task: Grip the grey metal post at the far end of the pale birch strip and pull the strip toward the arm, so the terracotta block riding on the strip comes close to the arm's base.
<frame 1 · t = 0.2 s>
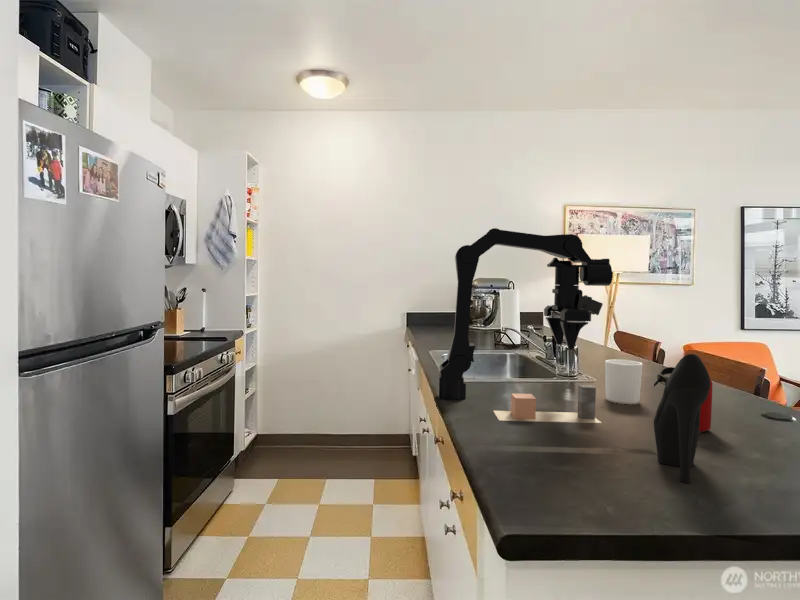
hand: (564, 347, 123), 15 cm above the counter, tool pointing down, fingers open, 9 cm apart
strip: (545, 402, 109), point 4 cm above the counter, slide at 0.0 cm, touching block
high-heeled shoe: (675, 467, 83), on the counter
mug: (619, 400, 129), on the counter
beverage can: (691, 429, 104), on the counter
block: (522, 415, 109), point 1 cm above the counter, touching strip
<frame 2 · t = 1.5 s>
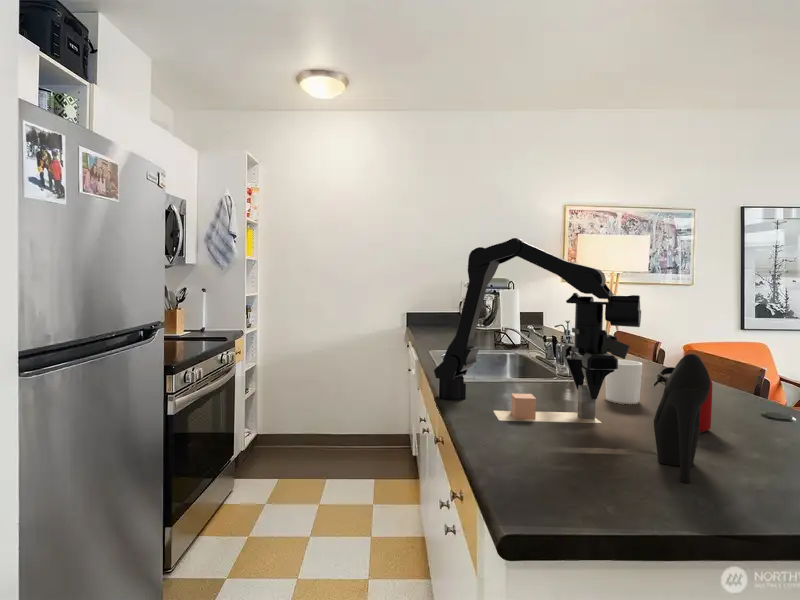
hand: (586, 394, 109), 6 cm above the counter, tool pointing down, fingers open, 9 cm apart
nothing on the counter moved.
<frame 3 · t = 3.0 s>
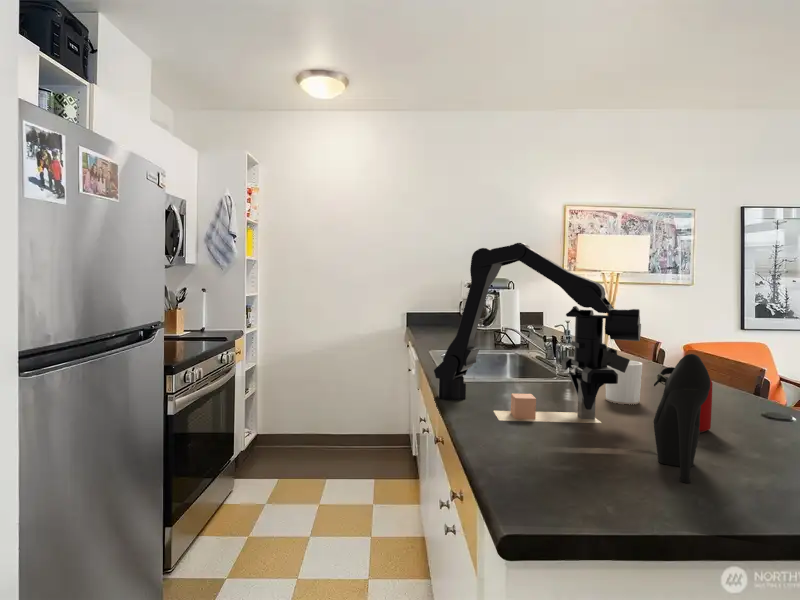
hand: (586, 407, 109), 3 cm above the counter, tool pointing down, fingers closed on strip, 2 cm apart
strip: (545, 402, 109), point 4 cm above the counter, slide at 0.0 cm, touching block, gripper
everything else where it was.
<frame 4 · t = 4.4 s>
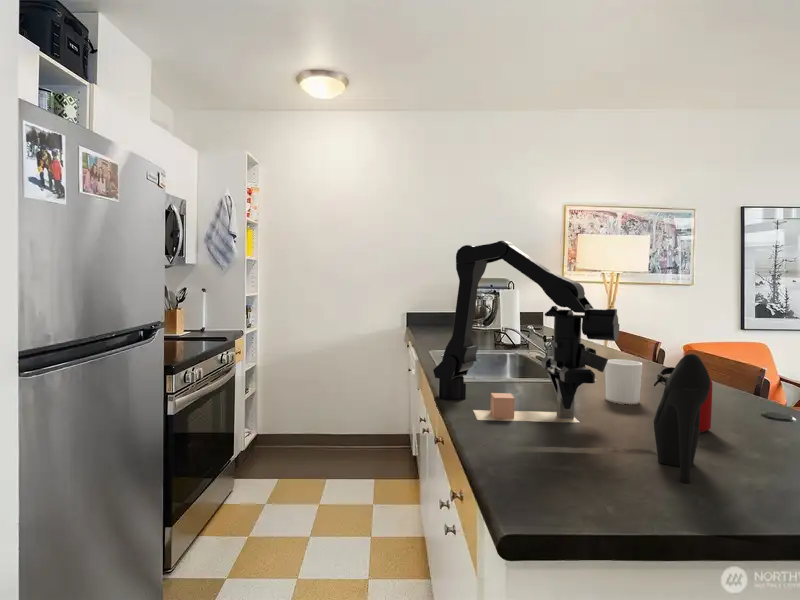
hand: (565, 407, 109), 3 cm above the counter, tool pointing down, fingers closed on strip, 2 cm apart
strip: (524, 402, 109), point 4 cm above the counter, slide at 4.6 cm, touching block, gripper
block: (502, 415, 109), point 1 cm above the counter, touching strip
everything else where it was.
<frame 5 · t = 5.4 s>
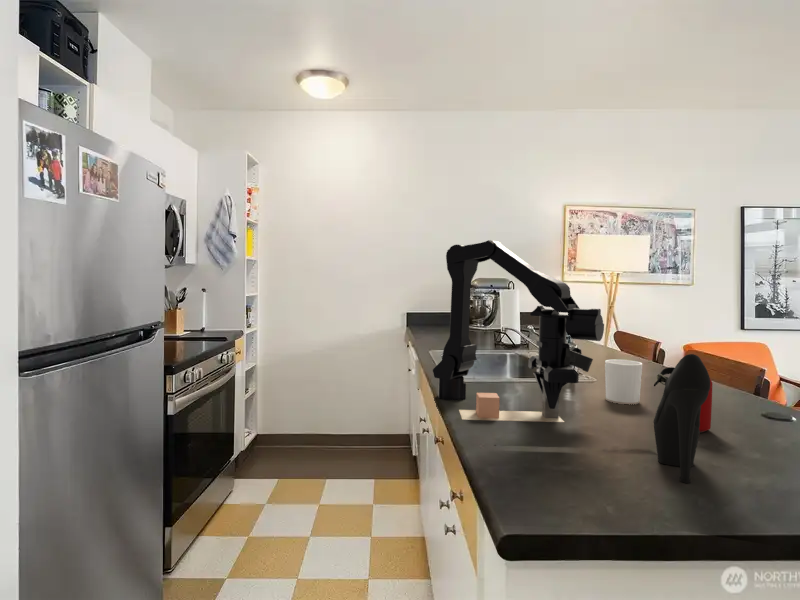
hand: (550, 406, 109), 3 cm above the counter, tool pointing down, fingers closed on strip, 2 cm apart
strip: (510, 401, 109), point 4 cm above the counter, slide at 7.9 cm, touching block, gripper
block: (487, 415, 110), point 1 cm above the counter, touching strip
everything else where it was.
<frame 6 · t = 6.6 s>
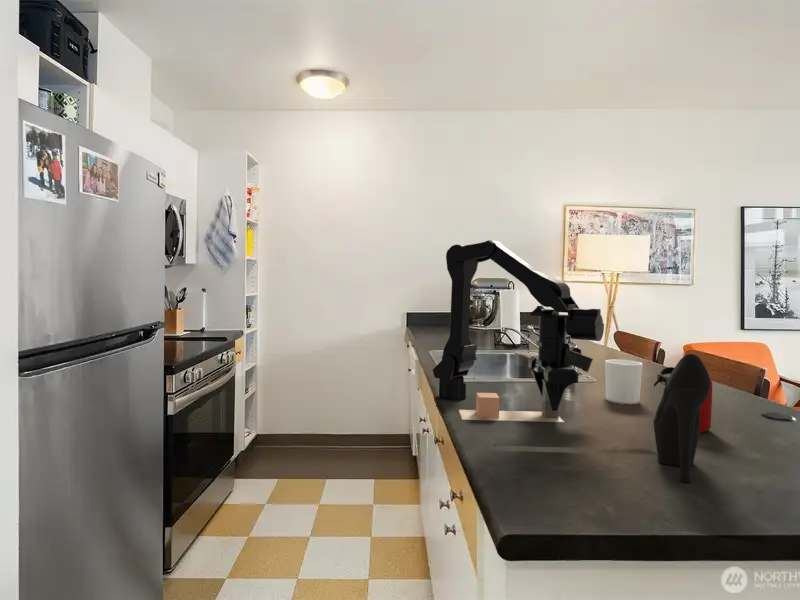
hand: (550, 406, 109), 3 cm above the counter, tool pointing down, fingers open, 6 cm apart
strip: (510, 401, 109), point 4 cm above the counter, slide at 7.9 cm, touching block
everything else where it was.
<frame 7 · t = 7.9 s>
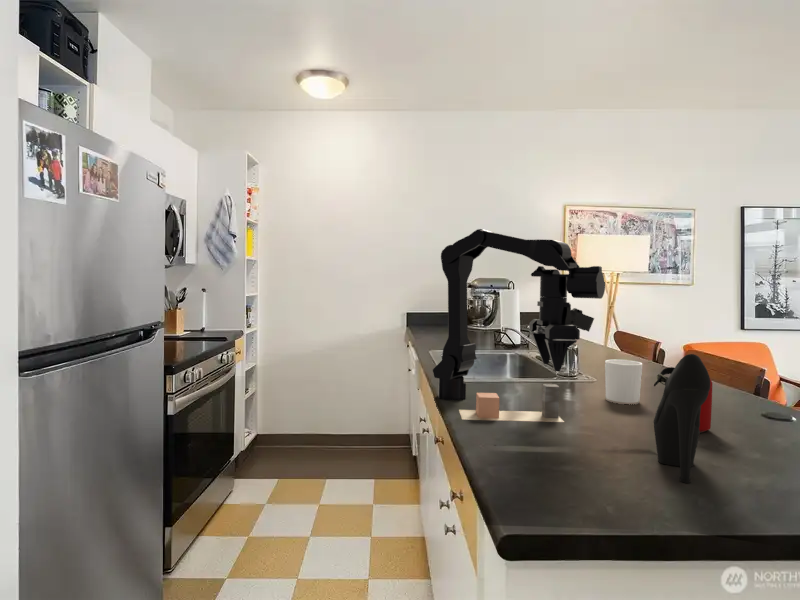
hand: (551, 367, 109), 12 cm above the counter, tool pointing down, fingers open, 9 cm apart
nothing on the counter moved.
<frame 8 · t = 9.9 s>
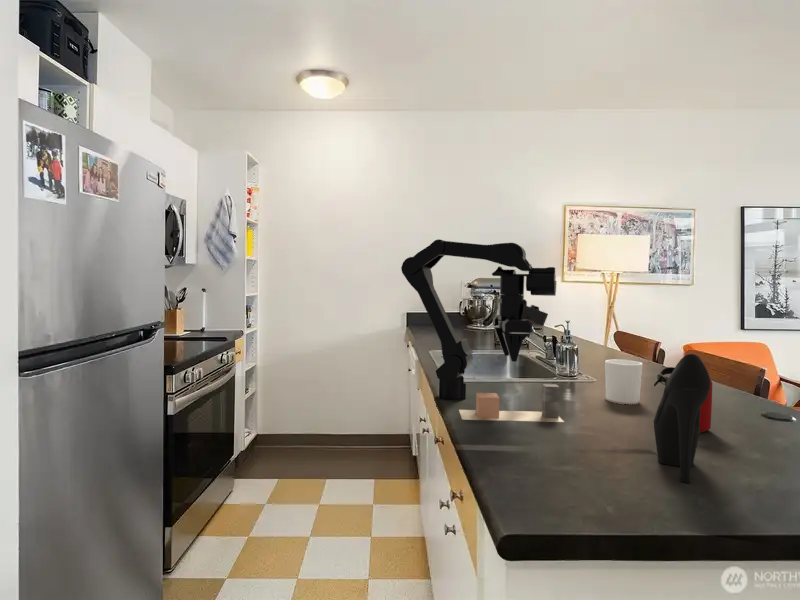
hand: (510, 358, 120), 12 cm above the counter, tool pointing down, fingers open, 9 cm apart
nothing on the counter moved.
at the end: block inside the target area (0.1 cm from its centre), point 0.8 cm above the counter; strip slide at 7.9 cm; block tilted 0° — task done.
